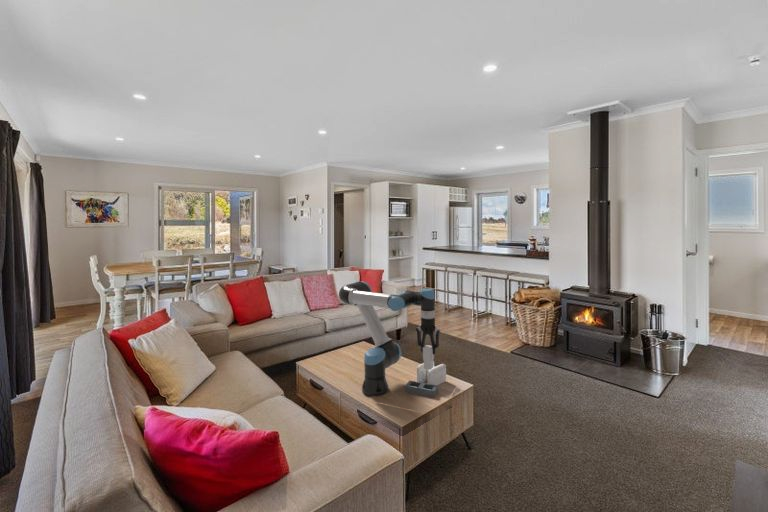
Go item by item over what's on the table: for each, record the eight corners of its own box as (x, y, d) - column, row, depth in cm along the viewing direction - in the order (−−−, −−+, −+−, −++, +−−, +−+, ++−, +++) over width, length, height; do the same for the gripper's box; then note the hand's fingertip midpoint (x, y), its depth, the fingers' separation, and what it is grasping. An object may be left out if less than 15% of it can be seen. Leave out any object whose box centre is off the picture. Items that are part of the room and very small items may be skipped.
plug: (423, 368, 202) (423, 347, 201) (426, 365, 207) (426, 344, 206) (430, 369, 201) (430, 348, 200) (433, 366, 205) (433, 345, 204)
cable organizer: (433, 376, 227) (433, 358, 226) (446, 382, 219) (447, 363, 218) (416, 384, 217) (416, 365, 216) (430, 390, 209) (430, 371, 208)
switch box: (405, 392, 207) (405, 385, 207) (409, 387, 214) (409, 380, 213) (434, 398, 200) (434, 390, 200) (438, 392, 207) (438, 385, 206)
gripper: (410, 317, 201) (411, 359, 203) (441, 320, 194) (441, 363, 196) (415, 314, 207) (416, 354, 210) (445, 316, 200) (445, 358, 203)
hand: (428, 358), depth 203 cm, fingers closed on plug, 4 cm apart
